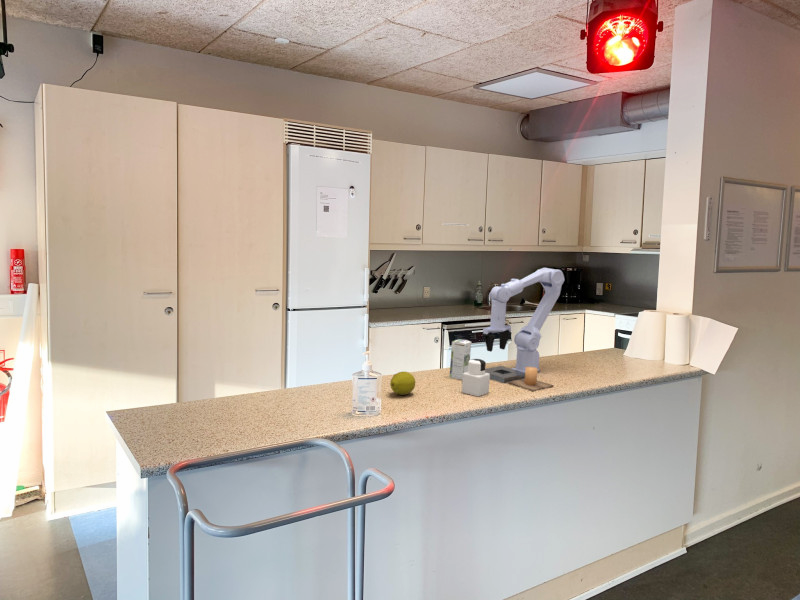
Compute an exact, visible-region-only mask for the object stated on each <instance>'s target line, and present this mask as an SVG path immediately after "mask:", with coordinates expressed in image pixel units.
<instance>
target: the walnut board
mask: <svg viewBox="0 0 800 600" xmlns="http://www.w3.org/2000/svg"><path fill="white" fill-rule="evenodd" d="M507 384H508V385H512V386H515V387H516V388H520V387H521V388H520V389H523V390H527V389H528V391H530V390H531V391H530V392H536V390H538V391H540V390H541V389H542V390H546V389H549V387H550V388H554V387H555V385H553V384H551V383H547V382H545V381H544V382H543V381H540V380H537V383H536V385H527V384H525V379H521V380H516V381H511V382H508V383H507ZM545 388H546V389H545ZM542 390H541V391H542Z"/></svg>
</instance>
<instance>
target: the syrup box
mask: <svg viewBox="0 0 800 600" xmlns="http://www.w3.org/2000/svg"><path fill="white" fill-rule="evenodd" d="M471 350H472V341H470V340H468V339H455V340H452V341H451V351H450V352H451V353H450V367H449V378H450V379H456V380H459V381H460V380H461V381H462V377H463V373H466V372H469V371H468V362H469V360H471Z"/></svg>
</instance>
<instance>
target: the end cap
mask: <svg viewBox="0 0 800 600" xmlns="http://www.w3.org/2000/svg"><path fill="white" fill-rule="evenodd" d="M537 370H538V368H536V367H526V370H525V384H527V385H536V383H537V381H538V379H537V378H538V371H537Z"/></svg>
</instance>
